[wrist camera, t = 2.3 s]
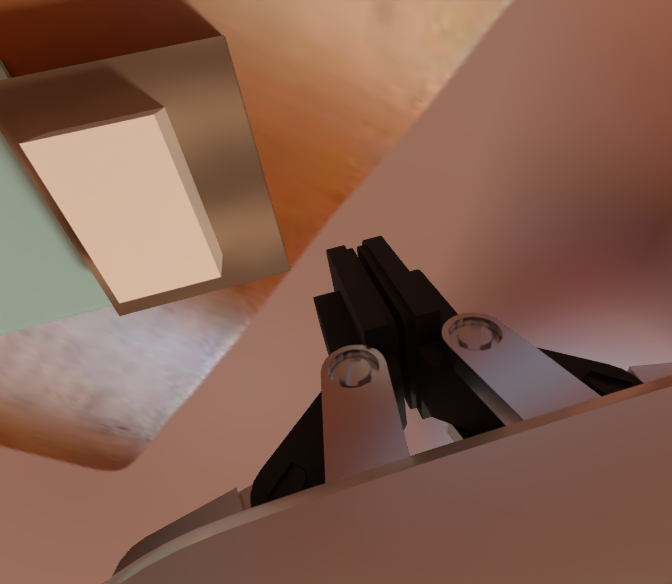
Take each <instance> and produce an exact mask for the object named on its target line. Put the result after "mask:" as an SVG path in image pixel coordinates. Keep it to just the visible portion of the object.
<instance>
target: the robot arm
mask: <svg viewBox="0 0 672 584" xmlns="http://www.w3.org/2000/svg"><path fill="white" fill-rule="evenodd" d="M326 252H327V258H328V262H329V267H330V272H331V277H332V281H333V286H334V291H335V292H331V293H327V294H324V295H320V296H317V297H314V303H315V306H316V311H317V315H318V319H319V322H320V326H321V330H322V333H323V337H324V341H325V344H326V348H327V351H328V354H329V356H328V357H327V358H326V360H325V361H324V363H323V365H322V369H321V390H322V391H321V393H320V394H319V395H318V396H317V398H316V399H315V400H314V401H313V403H312V404H311V405H310V407H309V408H308V409H307V411H306V412H305V413H304V414H303V416H302V417H301V419H300V420H299V421H298V422H297V424H296V425H295V426H294V427H293V429H292V430H291V431H290V433H289V434H288V435H287V437H286V438H285V439H284V440H283V442H282V443H281V444H280V446H279V447H278V448H277V449H276V451H275V452H274V454H273V455H272V456H271V457H270V459H269V460H268V461H267V462H266V464H265V465H264V466H263V468H262V469H261V470H260V472H259V474H258V475H257V477H256V479H255V480H254V483H253V485H251V486H249V487H247V488H245V489H244V490H242V491H240V492H239V490H238V488H235V489H233V490H231V491H229V492H227V493H226V494H224V495H222V496H220V497H218V498H216V499H215V500H213V501H211V502H209V503H207V504H206V505H204V506H202V507H200V508H198V509H196V510H195V511H193V512H191V513H189V514H187V515H185V516H184V517H182V518H180V519H178V520H176V521H175V522H173V523H171V524H169V525H167V526H165V527H163V528H162V529H160V530H158V531H156V532H154V533H152V534H151V535H149V536H147V537H145V538H144V539H142V540H141V541H140V542H138V543H137V544H136V545H134V546H133V547H132V548H131V549H130V550H129V551H128V552H127V553H126V555H125V556H124V557H123V558H122V559H121V561H120V562H119V564H118V566H117V568H116V570H115V572H114V574H113V576H112V577H111V578H110V579H108V580H107V581H106V582H104V583H103V584H672V363H664V364H653V365H642V366H631V367H629V369H628V371H625V370H623V369H621V368H618V367H615V366H612V365H609V364H604V363H600V362H596V361H592V360H588V359H583V358H579V357H575V356H571V355H566V354H562V353H558V352H554V351H549V350H545V349H541V348H536V347H535V346H534V345H532V344H531V343H530V342H528V341H527V340H526V339H524V338H523V337H522V336H520V335H519V334H518V333H516V332H515V331H514V330H512V329H511V328H510V327H508V326H507V325H505V324H504V323H503V322H502V321H500V320H498V319H497V318H495V317H493V316H490V315H486V314H481V313H463V314H460V315H458V314H457V313H456V312H455V310H454V309H453V308H452V307H451V306H450V305H449V303H448V302H447V301H446V300H445V299H444V297H443V296H442V295H441V294H440V293H439V292H438V290H437V289H436V288H435V287H434V286H433V285H432V283H431V282H430V281H429V280H428V279H427V277H426V276H425V275H424V274H423V273H422V272H421V271H420V270H413V271H409V270H408V269H407V267H406V266H405V265H404V264H403V262H402V261H401V260H400V259H399V257H398V256H397V255H396V254H395V252H394V251H393V250H392V249H391V247H390V246H389V245H388V244H387V242H386V241H385V240H384V239H383V237H382V236H378V237H374V238H370V239H366V240H363V242H362V246H358V247H357V253H358V257H357V255H356V253H355V251H354V250H353V248H350V249H346V247H345V246H344V245H343V246H339V247H335V248H332V249H328V250H326ZM404 398H405V400H406V402H407V403H408V406H409V407H410V409H414V408H417V409H418V411H419V413H420V415H421V417H422V419H425V418H429V417H434V418H436V419H439V420H442V421H443V423H444V427H445V429H446V431H447V433H448V434H449V435H450V437H451V438H452V439H453V441H454V443H450V444H447V445H444V446H441V447H438V448H434V449H432V450H428V451H425V452H422V453H419V454H415V455H412V456H410V455H409V451H408V447H407V443H406V439H405V435H404V429H405V427H406V425H407V421H406V410H405V400H404Z"/></svg>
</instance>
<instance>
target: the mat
mask: <svg viewBox="0 0 672 584" xmlns="http://www.w3.org/2000/svg"><path fill="white" fill-rule="evenodd" d="M8 78H12V77H11V76H10V74H9V72H8V71H7V69H6V67H5V65H4V64H3V62H2V60H0V80H3V79H8ZM110 306H113V305H112V303H111V302H110V300H109V299H108V297H107V296H106V294H105V293H104V291H103V289H102V288H101V286H100V285H99V283H98V282H97V280H96V279H95V277H94V275H93V274H92V272H91V271H90V269H89V268H88V266H87V265H86V263H85V262H84V260H83V258H82V257H81V255H80V254H79V252H78V251H77V249H76V248H75V246H74V244H73V243H72V241H71V240H70V238H69V237H68V235H67V234H66V232H65V231H64V229H63V227H62V226H61V224H60V223H59V221H58V220H57V218H56V217H55V215H54V214H53V212H52V210H51V209H50V207H49V206H48V204H47V203H46V201H45V200H44V198H43V196H42V195H41V193H40V192H39V190H38V189H37V187H36V186H35V184H34V183H33V181H32V179H31V178H30V176H29V175H28V173H27V172H26V170H25V169H24V167H23V165H22V164H21V162H20V161H19V159H18V158H17V156H16V155H15V153H14V152H13V150H12V148H11V147H10V145H9V144H8V142H7V141H6V139H5V138H4V136H3V134H2V133H1V131H0V335H3V334H6V333H10V332H14V331H18V330H22V329H26V328H29V327H33V326H37V325H41V324H45V323H49V322H52V321H56V320H60V319H64V318H68V317H72V316H75V315H79V314H83V313H87V312H91V311H95V310H98V309H102V308H106V307H110Z"/></svg>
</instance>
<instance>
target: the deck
mask: <svg viewBox="0 0 672 584" xmlns="http://www.w3.org/2000/svg"><path fill="white" fill-rule="evenodd" d="M163 107H165V109H166V112H167V114H168V117H169V120H170V122H171V125H172V127H173V130H174V132H175V135H176V137H177V140H178V142H179V145H180V148H181V150H182V153H183V155H184V158H185V160H186V163H187V165H188V168H189V170H190V173H191V175H192V178H193V181H194V183H195V186H196V188H197V191H198V193H199V196H200V198H201V201H202V203H203V206H204V208H205V211H206V214H207V216H208V219H209V221H210V224H211V226H212V229H213V231H214V234H215V236H216V239H217V241H218V244H219V247H220V249H221V252H222V254H223V258H222V271H221V277H219V278H215V279H212V280H208V281H204V282H200V283H196V284H192V285H189V286H185V287H181V288H177V289H173V290H169V291H166V292H162V293H158V294H154V295H150V296H146V297H143V298H139V299H135V300H131V301H127V302H123V303H120V304H119V302H118V300H117V299H116V297H115V296H114V294H113V292H112V291H111V289H110V288H109V286H108V285H107V283H106V281H105V280H104V278H103V277H102V275H101V273H100V272H99V270H98V269H97V267H96V265H95V264H94V262H93V261H92V259H91V258H90V256H89V254H88V253H87V251H86V250H85V248H84V246H83V245H82V243H81V242H80V240H79V238H78V237H77V235H76V234H75V232H74V231H73V229H72V227H71V226H70V224H69V223H68V221H67V219H66V218H65V216H64V215H63V213H62V212H61V210H60V208H59V207H58V205H57V204H56V202H55V200H54V199H53V197H52V196H51V194H50V192H49V191H48V189H47V188H46V186H45V185H44V183H43V181H42V180H41V178H40V177H39V175H38V173H37V172H36V170H35V169H34V167H33V166H32V164H31V162H30V161H29V159H28V158H27V156H26V154H25V153H24V151H23V150H22V148H21V146H20V145H19V144H20V143H22V142H25V141H27V140H30V139H32V138H35V137H37V136H40V135H42V134H45V133H47V132H52V131H56V130H61V129H66V128H70V127H75V126H80V125H84V124H89V123H93V122H98V121H103V120H107V119H112V118H117V117H121V116H126V115H130V114H135V113H140V112H144V111H149V110H154V109H158V108H163ZM0 131H1V133H2V134H3V136H4V138H5V139H6V141H7V142H8V144H9V145H10V147H11V148H12V150H13V152H14V153H15V155H16V156H17V158H18V159H19V161H20V162H21V164H22V165H23V167H24V169H25V170H26V172H27V173H28V175H29V176H30V178H31V179H32V181H33V183H34V184H35V186H36V187H37V189H38V190H39V192H40V193H41V195H42V196H43V198H44V200H45V201H46V203H47V204H48V206H49V207H50V209H51V210H52V212H53V214H54V215H55V217H56V218H57V220H58V221H59V223H60V224H61V226H62V227H63V229H64V231H65V232H66V234H67V235H68V237H69V238H70V240H71V241H72V243H73V244H74V246H75V248H76V249H77V251H78V252H79V254H80V255H81V257H82V258H83V260H84V262H85V263H86V265H87V266H88V268H89V269H90V271H91V272H92V274H93V275H94V277H95V279H96V280H97V282H98V283H99V285H100V286H101V288H102V289H103V291H104V293H105V294H106V296H107V297H108V299H109V300H110V302H111V303H112V305H113V306H114V308H115V310H116V311H117V313H118V314H119V316H121V315H125V314H129V313H133V312H137V311H140V310H144V309H148V308H152V307H156V306H159V305H163V304H167V303H171V302H174V301H178V300H182V299H186V298H190V297H193V296H197V295H201V294H205V293H209V292H212V291H216V290H220V289H224V288H228V287H231V286H235V285H239V284H243V283H247V282H250V281H254V280H258V279H262V278H265V277H269V276H273V275H277V274H281V273H284V272H288V271H290V268H289V264H288V260H287V256H286V252H285V248H284V244H283V241H282V237H281V234H280V230H279V226H278V223H277V219H276V216H275V212H274V209H273V205H272V202H271V198H270V194H269V191H268V187H267V184H266V180H265V177H264V173H263V170H262V166H261V162H260V159H259V155H258V152H257V148H256V145H255V141H254V138H253V134H252V130H251V127H250V123H249V120H248V116H247V113H246V109H245V106H244V102H243V98H242V95H241V91H240V88H239V84H238V81H237V77H236V74H235V70H234V67H233V63H232V59H231V56H230V52H229V49H228V45H227V42H226V38H225V37H224V35H221V36H216V37H211V38H206V39H201V40H196V41H191V42H187V43H182V44H177V45H172V46H167V47H162V48H157V49H152V50H147V51H142V52H137V53H132V54H127V55H122V56H117V57H112V58H107V59H102V60H97V61H92V62H87V63H82V64H77V65H73V66H68V67H63V68H58V69H53V70H48V71H43V72H38V73H33V74H28V75H23V76H18V77H13V78H8V79H3V80H0Z"/></svg>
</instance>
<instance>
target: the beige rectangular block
mask: <svg viewBox="0 0 672 584" xmlns="http://www.w3.org/2000/svg"><path fill="white" fill-rule="evenodd" d="M19 145H20V146H21V148H22V150H23V151H24V153H25V154H26V156H27V158H28V159H29V161H30V162H31V164H32V166H33V167H34V169H35V170H36V172H37V173H38V175H39V177H40V178H41V180H42V181H43V183H44V185H45V186H46V188H47V189H48V191H49V192H50V194H51V196H52V197H53V199H54V200H55V202H56V204H57V205H58V207H59V208H60V210H61V212H62V213H63V215H64V216H65V218H66V219H67V221H68V223H69V224H70V226H71V227H72V229H73V231H74V232H75V234H76V235H77V237H78V238H79V240H80V242H81V243H82V245H83V246H84V248H85V250H86V251H87V253H88V254H89V256H90V258H91V259H92V261H93V262H94V264H95V265H96V267H97V269H98V270H99V272H100V273H101V275H102V277H103V278H104V280H105V281H106V283H107V285H108V286H109V288H110V289H111V291H112V292H113V294H114V296H115V297H116V299H117V300H118V302H119V304H120V303H123V302H127V301H131V300H135V299H139V298H143V297H146V296H150V295H154V294H158V293H162V292H166V291H169V290H173V289H177V288H181V287H185V286H189V285H192V284H196V283H200V282H204V281H208V280H212V279H215V278H219V277H221V271H222V258H223V254H222V252H221V249H220V247H219V244H218V241H217V239H216V236H215V234H214V231H213V229H212V226H211V224H210V221H209V219H208V216H207V214H206V211H205V208H204V206H203V203H202V201H201V198H200V196H199V193H198V191H197V188H196V186H195V183H194V181H193V178H192V175H191V173H190V170H189V168H188V165H187V163H186V160H185V158H184V155H183V153H182V150H181V148H180V145H179V142H178V140H177V137H176V135H175V132H174V130H173V127H172V125H171V122H170V120H169V117H168V114H167V112H166V109H165V107H163V108H158V109H154V110H149V111H144V112H140V113H135V114H130V115H126V116H121V117H117V118H112V119H107V120H103V121H98V122H93V123H89V124H84V125H80V126H75V127H70V128H66V129H61V130H56V131H52V132H47V133H45V134H42V135H40V136H37V137H35V138H32V139H30V140H27V141H25V142H22V143H20V144H19Z"/></svg>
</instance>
